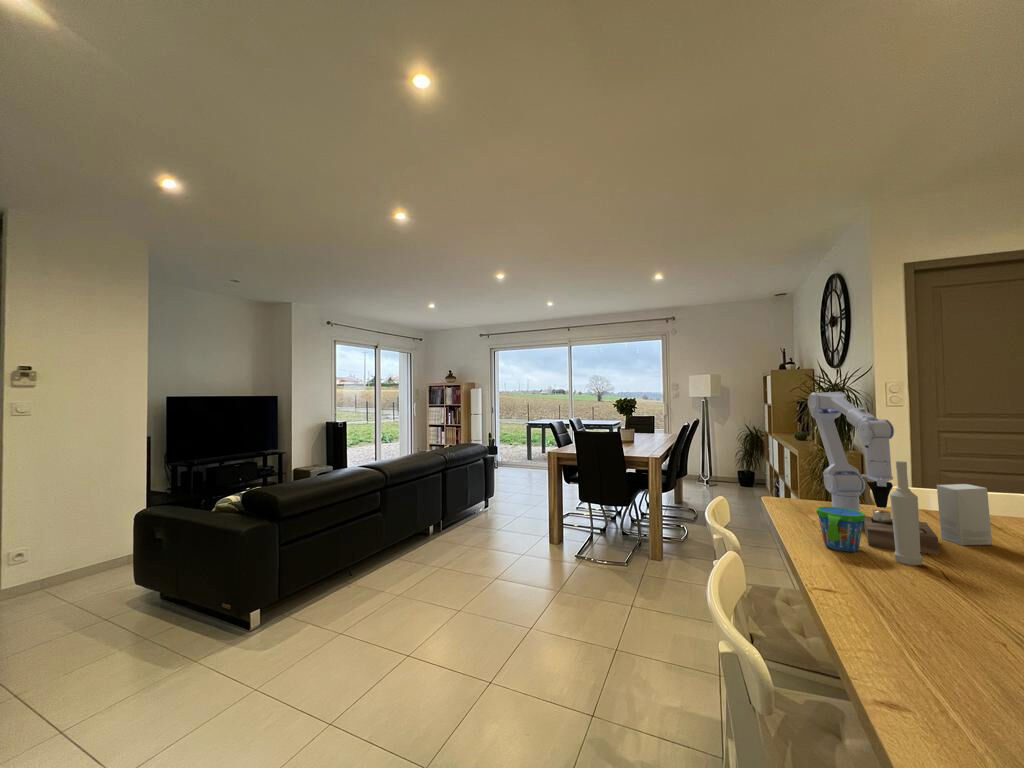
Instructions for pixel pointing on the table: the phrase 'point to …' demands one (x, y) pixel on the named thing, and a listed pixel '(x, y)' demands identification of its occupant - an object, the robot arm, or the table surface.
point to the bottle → (905, 520)
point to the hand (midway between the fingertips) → (881, 507)
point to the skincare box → (964, 514)
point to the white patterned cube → (882, 517)
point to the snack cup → (841, 527)
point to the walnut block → (885, 536)
